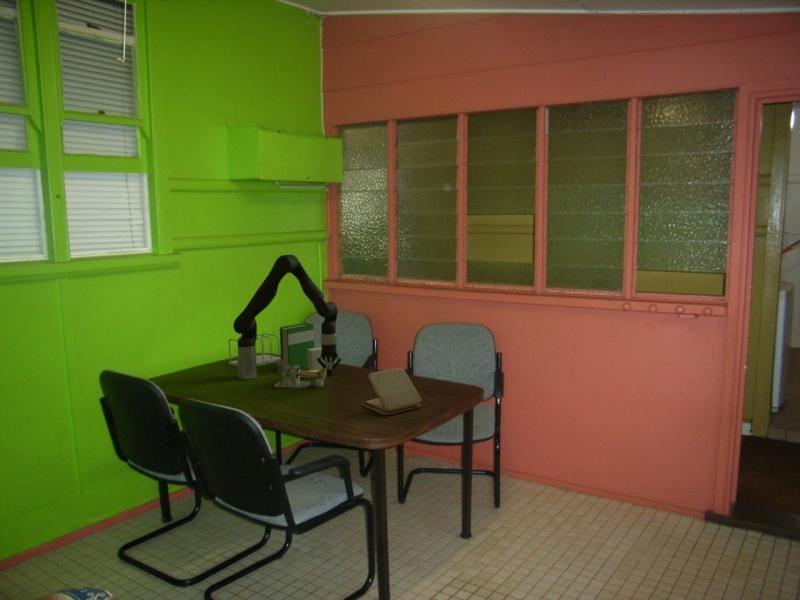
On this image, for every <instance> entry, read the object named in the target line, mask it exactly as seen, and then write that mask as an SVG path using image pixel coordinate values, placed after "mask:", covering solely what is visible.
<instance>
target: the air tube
mask: <svg viewBox="0 0 800 600" xmlns="http://www.w3.org/2000/svg"><path fill="white" fill-rule="evenodd" d="M286 374H287V377H291V378H292V371H291V370H286ZM296 377H300V378H312V377H313V378H317V379H321V380H323V381H324V380H326V377H327V370H326V371H325V368H322V369H321V370H308V369H307V370H306V369H301V370H296Z"/></svg>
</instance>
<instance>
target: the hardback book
mask: <svg viewBox="0 0 800 600" xmlns="http://www.w3.org/2000/svg"><path fill="white" fill-rule="evenodd" d="M314 332H315V331H314V323H308V322H303V323H297V324H292V325H285V326H281V327H280V326H279V349H280V358H281V359H283V367H284V366H285V365H286V364H290V370H291V368H292V367H293V366H295V365H300V370H306V369H308V355H307V349H311V348H315V336H314V335H315V333H314Z"/></svg>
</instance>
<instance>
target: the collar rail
mask: <svg viewBox="0 0 800 600" xmlns="http://www.w3.org/2000/svg"><path fill="white" fill-rule="evenodd" d="M274 363H275V366H277V369H278V374H277V375H278V382H277V383H275V384H274V385H273V386H274V388H289V389H291V388H293V389H296V388H297V389H299V388H301V389H305V388H306V387H308V386H309V385H310V384H311V381H307V380H303V381H302V380H301V377H296V370H300V365H295V366H293V367H292V368H291V371H292V377H287V374H286V370H290V364H286V365H285V366H284V367H283V359H279V360H278V361H276V362H274ZM323 386H324V380H321V378H317V379H316V380H315V381H314V387H315V388H321V387H323ZM306 389H307V388H306Z"/></svg>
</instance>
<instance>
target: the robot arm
mask: <svg viewBox="0 0 800 600" xmlns="http://www.w3.org/2000/svg"><path fill="white" fill-rule="evenodd" d="M287 274H292V275H293V277H295V278H296V280H297V281H298V283H299V285H300V288H301V290H302V291H303V293H304V295H305V296H306V297H307V298H308V300H309V301H310V302H311V303H312V305H313V307H314V309H315V311H316V313H317V314H318V315H319V316H320V317H322V318H323V322H322V323H321V324H320V325H321V326H320V328H321V329H320V331H321V337H320V338H321V339H320V343H321V345H320V347H321V350H322V353H321V356H320V357H319V358H317V361H318V362H319V364H320V365H321V366H322V367H323V368H325V369H326V377H328V378H331V377H332V376H333V375H334V369H336V368H337V366H338V365H339V363H341V361H342V360H343V358H342V357H340V356H339V354H338V353H337V352H338V351H337V350H338V349H337V348H338V347H337V341H338V340H337V333H336V332H337V330H336V324H337V320H338V319H337V318H338V306H337V305H336V303H335V302H333V301H329V302H326V301H325V299H324V298H325V294H324V293H323V292H322V290H321V289H320V288H319V287H318V286H317V285H316V283H315V282H314V281H313V279H311V277H310V276H309V274H308V273H307V271H306V270H305V269H304V267H303V265H302V263H301V261H300V260H299V258H297V256H295V255H294V254H283V255H280V256H279V257H277V258H276V260H275V261H274V264H273V265H272V267H271V269H270V270H269V273H268V274H267V276H266V277H265V279H263V281H262V283H261V284H260V285H259V287H258V289H257V290H256V291H255V293H254V294H253V296H252V297H251V298H250V300H249V302H248V303H247V305H246V306H245V307H244V309H242V311H241V312H240V314H239V315H238V316H237V317H236V318H235V320H233V321H234V322H233V330H234V332H235V333H236V334H239V335H240V337H241V338H240V337H239V338H240V339H239V340H238V339H237V340H238V341H237V356H238V357H237V360H238V361H237V367H236V368H237V379H240V380H253V379H256V378H257V377H258V371H257V370H258V368H257V367H258V366H257V364H256V356H257V348H256V347H257V346H256V344H257V343H256V341H257V340H258V339H257V338H258V335H257V334H258V325H257V324H258V323H257V320H256V317H257V316H258V315H259V314H260V313H262V312H264V310H265V309H266V308H268V307H269V306H270V304H271V303H272V302H273V300H274V299H275V298H276V296H277V294H278V293H277V292H278V288H279V284H280V283H281V281H282V279H283V278H284V277H285V276H286V275H287ZM322 359H323V360H324V362H325V364H326V365H325V364H324V362H323V361H322ZM335 361H336V362H335ZM334 362H335V363H334Z"/></svg>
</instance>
